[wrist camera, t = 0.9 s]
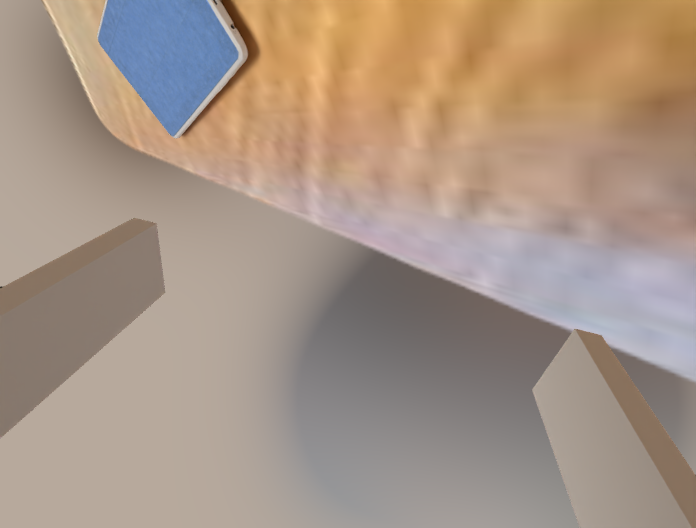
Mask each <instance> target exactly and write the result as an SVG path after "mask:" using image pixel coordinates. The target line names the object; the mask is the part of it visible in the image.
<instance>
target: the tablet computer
mask: <svg viewBox="0 0 696 528" xmlns="http://www.w3.org/2000/svg"><path fill="white" fill-rule="evenodd" d="M97 38H98V41H99V43H100V45H101V47H102V48H103V49H104V51H105V52H106V53H107V54H108V56H109V57H110V58H111V60H112V61H113V62H114V64H115V65H116V66H117V67H118V69H119V70H120V71H121V73H122V74H123V75H124V76H125V78H126V79H127V80H128V82H129V83H130V84H131V85H132V87H133V88H134V89H135V90H136V92H137V93H138V94H139V96H140V97H141V98H142V99H143V101H144V102H145V103H146V105H147V106H148V107H149V109H150V110H151V111H152V112H153V114H154V115H155V116H156V118H157V119H158V120H159V121H160V123H161V124H162V125H163V126H164V128H165V129H166V130H167V132H168V133H169V134H170V135H171V136H172V137H173V138H180V137H181V135H182V134H183V133H184V132H185V130H186V129H187V128H188V127H189V126H190V125H191V123H192V122H193V121H194V120H195V119H196V118H197V116H198V115H199V114H200V113H201V112H202V111H203V110H204V108H205V107H206V106H207V105H208V104H209V102H210V101H211V100H212V99H213V98H214V97H215V95H216V94H217V93H218V92H219V91H221V89H222V88H223V87H224V86H225V85H226V84H227V83H228V81H229V79H230V78H231V77H233V76H234V74H235V73H236V72H237V70H238V69H239V68H240V67H241V66H242V65H243V64H244V63H245V61H246V60H247V57H248V50H247V47H246V44H245V42H244V40H243V38H242V37H241V35H240V33H239V31H238V30H237V28H235V27H234V23H233V21H232V19H231V18H230V16H229V14H228V12H227V11H226V9H225V7H224V6H223V4H222V2H221V1H220V0H106V1H105V5H104V9H103V13H102V18H101V22H100V26H99V29H98V33H97Z"/></svg>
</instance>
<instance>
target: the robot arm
mask: <svg viewBox="0 0 696 528" xmlns="http://www.w3.org/2000/svg"><path fill="white" fill-rule="evenodd" d="M164 287H165V286H164V279H163V271H162V263H161V256H160V247H159V240H158V231H157V224H156V223H153V222H149V221H145V220H141V219H136V218H133V219H131V220H129V221H127V222H126V223H123V224H122V225H120V226H118V227H116V228H114V229H112V230H110V231H108V232H107V233H105V234H103V235H101V236H99V237H97V238H95V239H93V240H91V241H89V242H87V243H85V244H84V245H82V246H80V247H78V248H76V249H74V250H72V251H70V252H68V253H67V254H65V255H63V256H61V257H59V258H57V259H55V260H53V261H52V262H49V263H48V264H46V265H44V266H42V267H40V268H38V269H36V270H34V271H33V272H30V273H29V274H27V275H25V276H23V277H21V278H19V279H17V280H15V281H13V282H12V283H10V284H8V285H6V286H4V287H0V438H1V437H2V436H4V435H5V434H6V433H7V432H8V431H9V430H10V429H11V428H13V427H14V426H15V425H16V424H17V423H18V422H19V421H20V420H22V419H23V418H24V417H25V416H26V415H27V414H28V413H30V411H32V410H33V409H34V408H35V407H36V406H37V405H39V404H40V403H41V402H42V401H43V400H44V399H45V398H46V397H48V396H49V395H50V394H51V393H52V392H53V391H54V390H55V389H56V388H58V387H59V386H60V385H61V384H62V383H63V382H65V381H66V380H67V379H68V378H69V377H70V376H71V375H73V374H74V373H75V372H76V371H77V370H78V369H79V368H80V367H82V366H83V365H84V364H85V363H86V362H87V361H88V360H89V359H91V358H92V357H93V356H94V355H95V354H96V353H97V352H99V351H100V350H101V349H102V348H103V347H104V346H105V345H106V344H108V343H109V342H110V341H111V340H112V339H113V338H114V337H115V336H117V335H118V334H119V333H120V332H121V331H122V330H123V329H125V328H126V327H127V326H128V325H129V324H130V323H131V322H132V321H134V320H135V319H136V318H137V317H138V316H139V315H140V314H142V313H143V312H144V311H145V310H146V309H147V308H148V307H149V306H151V305H152V304H153V303H154V302H155V301H156V300H157V299H159V298H160V297H161V296H162V295H163V294H164V293H165V288H164ZM532 391H533V394H534V396H535V399H536V402H537V405H538V408H539V411H540V414H541V417H542V420H543V422H544V426H545V428H546V431H547V434H548V437H549V440H550V443H551V446H552V449H553V452H554V454H555V457H556V460H557V463H558V466H559V469H560V471H561V474H562V478H563V481H564V483H565V486H566V489H567V492H568V495H569V498H570V501H571V504H572V506H573V510H574V512H575V515H576V518H577V521H578V524H579V527H580V528H696V475H695V474H694V472H693V471H692V469H691V468H690V466H689V465H688V463H687V462H686V460H685V459H684V457H683V456H682V454H681V453H680V451H679V450H678V448H677V447H676V445H675V444H674V442H673V441H672V440H671V438H670V437H669V435H668V434H667V432H666V431H665V429H664V428H663V426H662V425H661V423H660V422H659V420H658V419H657V417H656V416H655V414H654V413H653V412H652V410H651V408H650V407H649V405H648V404H647V403H646V401H645V400H644V398H643V397H642V395H641V393H640V392H639V391H638V389H637V388H636V386H635V385H634V383H633V382H632V380H631V379H630V377H629V376H628V374H627V373H626V371H625V370H624V368H623V367H622V365H621V364H620V362H619V361H618V359H617V358H616V356H615V355H614V353H613V352H612V350H611V349H610V347H609V346H608V344H607V343H606V341H605V340H604V339H603V337H602V336H601V335H598V334H594V333H590V332H586V331H582V330H578V329H574V331H573V332H572V333H571V335H570V336H569V338H568V339H567V341H566V342H565V344H564V345H563V346H562V348H561V349H560V351H559V352H558V353H557V355H556V356H555V358H554V359H553V361H552V362H551V364H550V365H549V366H548V368H547V369H546V371H545V372H544V374H543V375H542V376H541V378H540V380H539V381H538V382H537V384H536V385H535V387H534V388H533V389H532Z"/></svg>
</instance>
